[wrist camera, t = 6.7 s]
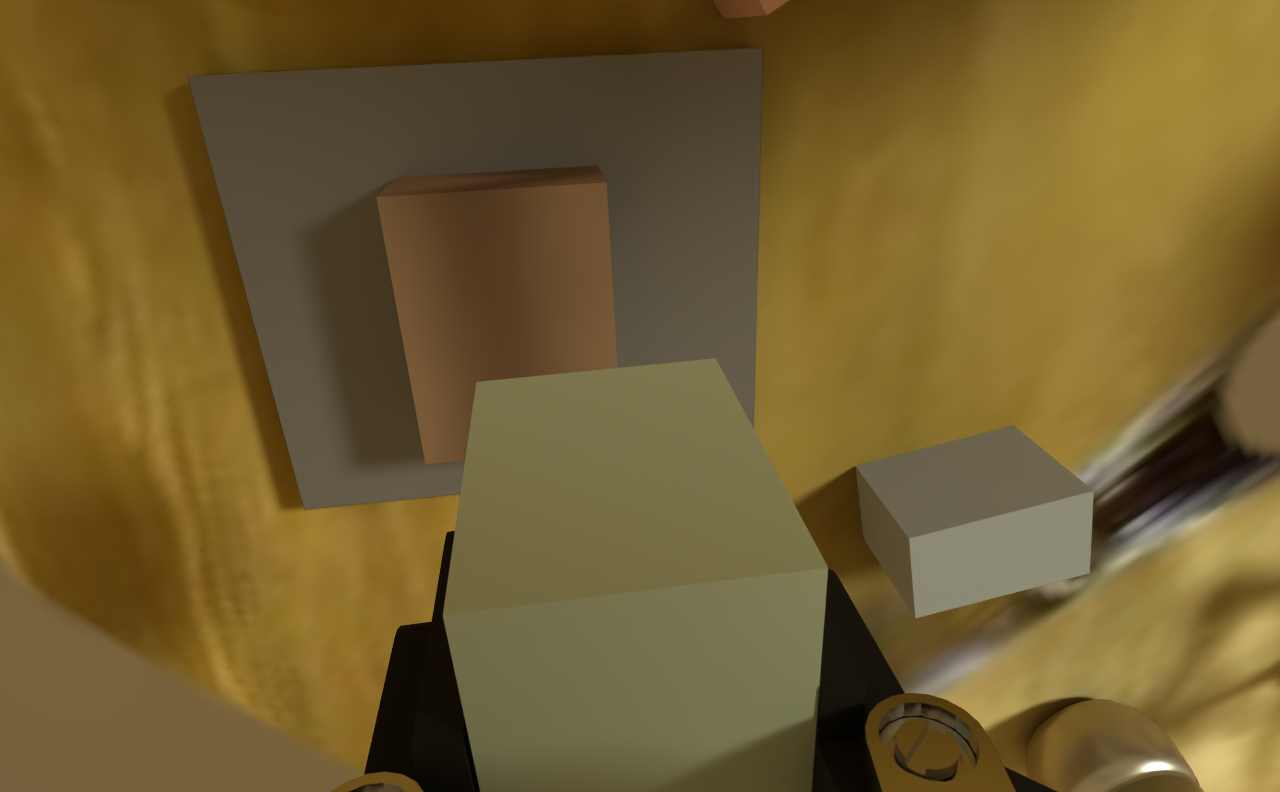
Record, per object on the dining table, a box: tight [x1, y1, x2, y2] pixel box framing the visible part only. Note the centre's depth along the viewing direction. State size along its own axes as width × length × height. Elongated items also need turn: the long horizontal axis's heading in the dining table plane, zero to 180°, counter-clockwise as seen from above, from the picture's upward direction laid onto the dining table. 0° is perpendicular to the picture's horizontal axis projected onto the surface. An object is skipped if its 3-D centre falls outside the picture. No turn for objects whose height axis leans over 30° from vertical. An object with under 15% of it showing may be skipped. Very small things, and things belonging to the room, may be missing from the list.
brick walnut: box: [376, 165, 617, 464], centre depth 23 cm, size 6×8×3 cm
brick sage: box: [443, 358, 828, 792], centre depth 11 cm, size 6×4×5 cm, turn 3°
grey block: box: [855, 425, 1094, 618], centre depth 29 cm, size 6×4×5 cm, turn 103°
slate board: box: [188, 47, 763, 510], centre depth 25 cm, size 16×14×1 cm
